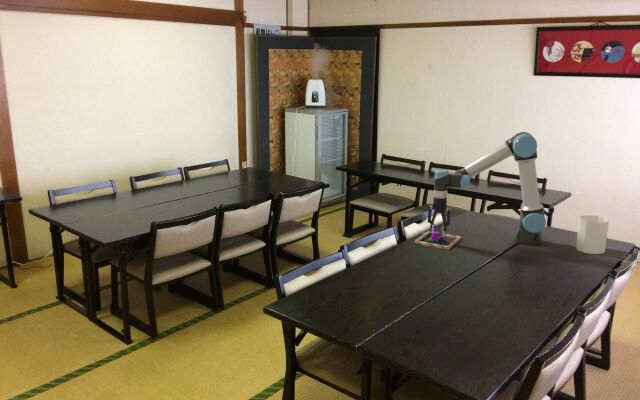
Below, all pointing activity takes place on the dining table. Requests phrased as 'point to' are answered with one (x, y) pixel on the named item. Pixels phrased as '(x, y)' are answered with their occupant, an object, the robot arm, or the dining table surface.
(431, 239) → the toy
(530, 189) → the robot arm
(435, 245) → the pocket frame
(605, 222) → the container
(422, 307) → the dining table surface
